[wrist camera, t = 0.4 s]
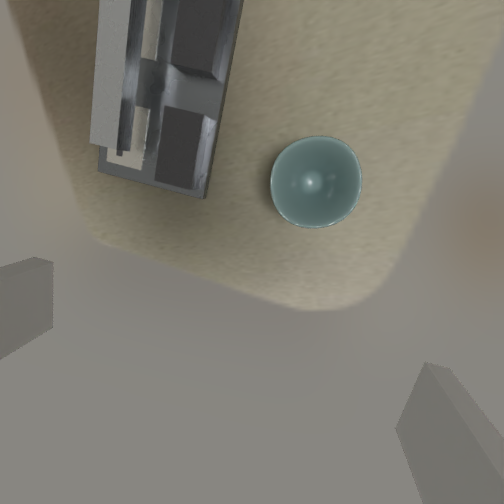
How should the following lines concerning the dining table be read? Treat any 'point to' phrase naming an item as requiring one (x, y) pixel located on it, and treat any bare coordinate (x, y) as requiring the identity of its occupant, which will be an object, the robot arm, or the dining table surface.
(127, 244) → the dining table surface
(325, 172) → the cup
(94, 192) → the dining table surface
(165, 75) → the panel
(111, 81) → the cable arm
